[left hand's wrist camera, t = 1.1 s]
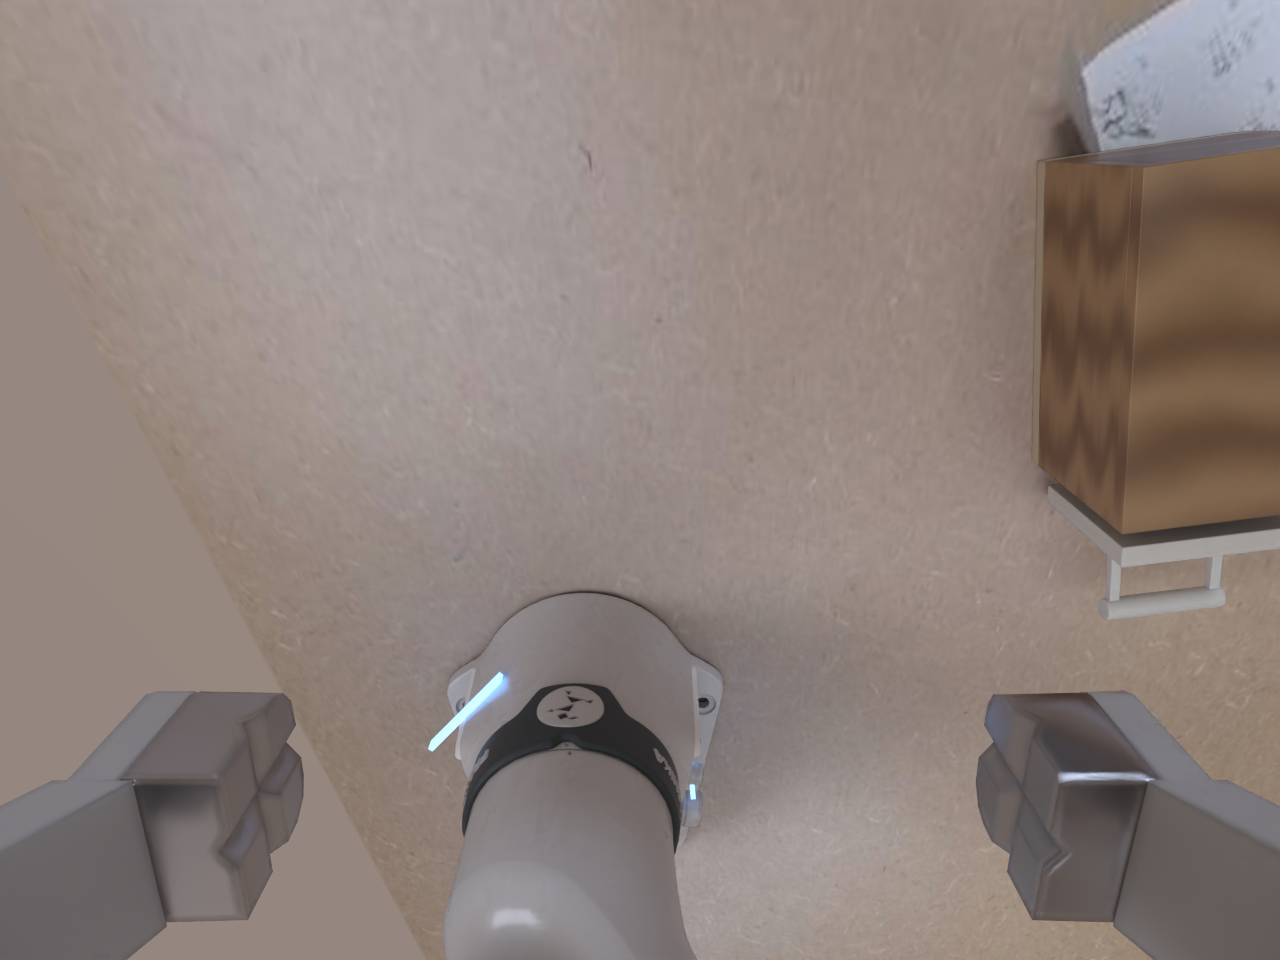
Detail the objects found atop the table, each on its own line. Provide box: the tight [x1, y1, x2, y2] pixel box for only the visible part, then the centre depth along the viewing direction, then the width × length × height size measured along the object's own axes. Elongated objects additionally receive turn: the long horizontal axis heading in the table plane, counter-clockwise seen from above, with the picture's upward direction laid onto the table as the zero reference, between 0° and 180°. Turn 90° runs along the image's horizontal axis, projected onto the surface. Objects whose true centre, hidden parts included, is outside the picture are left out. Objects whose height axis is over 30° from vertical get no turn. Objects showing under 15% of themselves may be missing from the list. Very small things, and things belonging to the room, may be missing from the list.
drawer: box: [1048, 484, 1280, 620], centre depth 49 cm, size 22×10×9 cm, turn 8°
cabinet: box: [1032, 131, 1280, 534], centre depth 47 cm, size 18×11×11 cm, turn 8°
